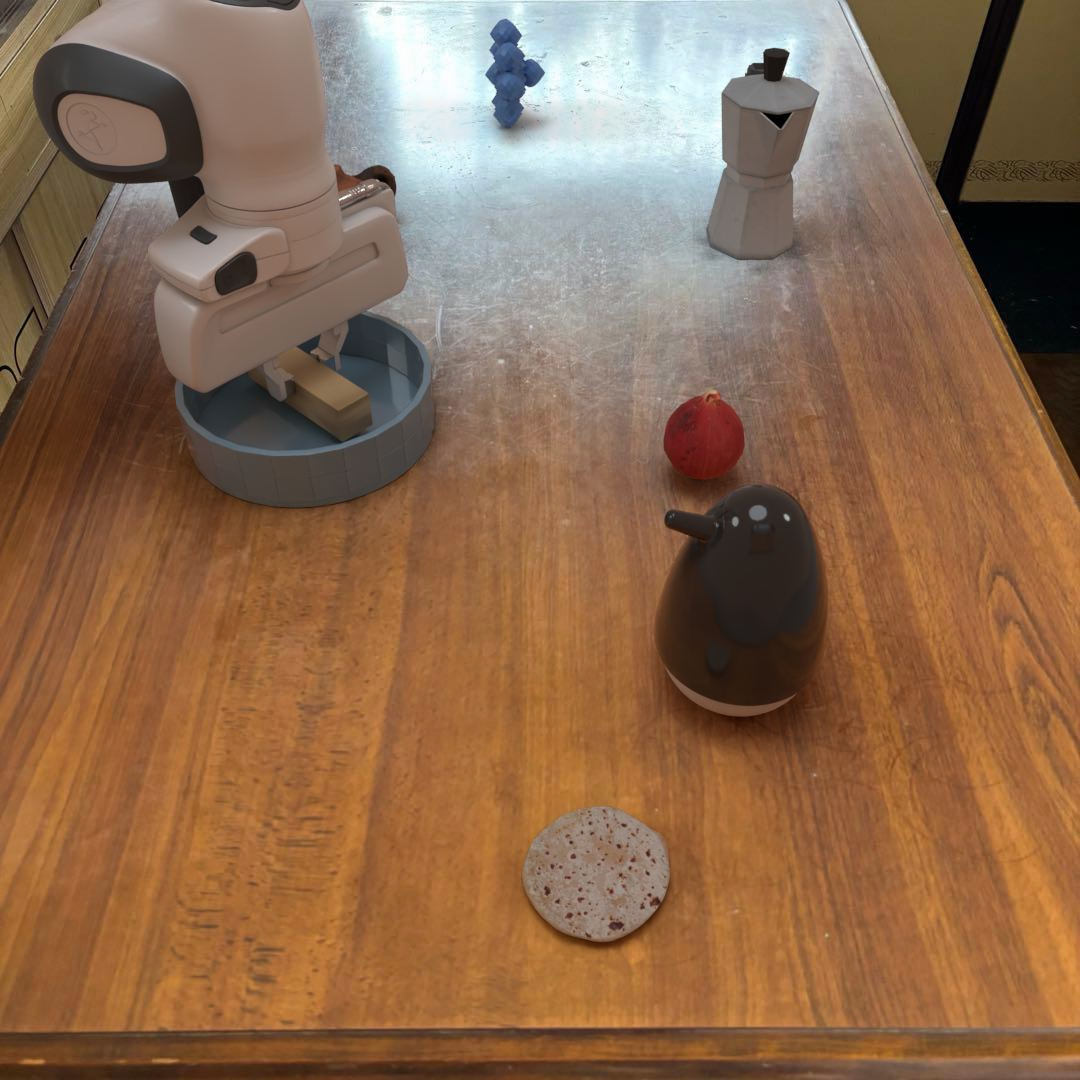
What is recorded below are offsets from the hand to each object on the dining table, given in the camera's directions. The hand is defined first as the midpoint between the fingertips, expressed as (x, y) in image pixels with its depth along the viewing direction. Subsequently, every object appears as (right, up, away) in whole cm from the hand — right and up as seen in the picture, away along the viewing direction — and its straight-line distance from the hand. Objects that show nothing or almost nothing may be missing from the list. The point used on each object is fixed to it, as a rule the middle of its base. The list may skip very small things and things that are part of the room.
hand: (305, 382), depth 86 cm
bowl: (0, -3, +1) cm, 4 cm away
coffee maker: (+39, +18, +24) cm, 49 cm away
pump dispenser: (+30, -21, -17) cm, 40 cm away
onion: (+30, -8, -3) cm, 31 cm away
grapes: (+16, +35, +41) cm, 57 cm away
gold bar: (0, -1, +1) cm, 2 cm away
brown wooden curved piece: (-1, +17, +23) cm, 29 cm away
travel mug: (-14, +20, +25) cm, 35 cm away
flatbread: (+22, -30, -27) cm, 46 cm away
